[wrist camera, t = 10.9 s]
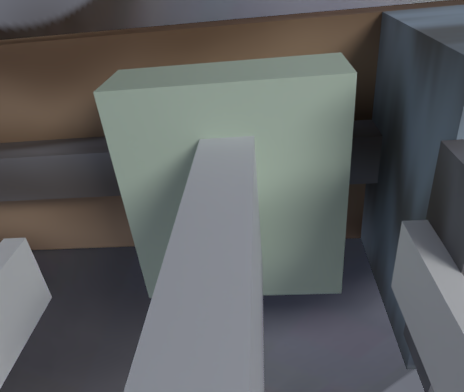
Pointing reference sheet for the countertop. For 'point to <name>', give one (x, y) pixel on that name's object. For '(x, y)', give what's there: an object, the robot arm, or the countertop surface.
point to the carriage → (228, 204)
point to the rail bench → (232, 49)
